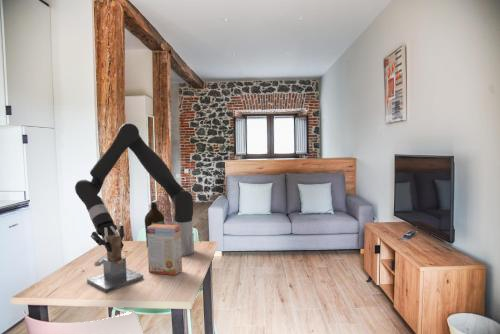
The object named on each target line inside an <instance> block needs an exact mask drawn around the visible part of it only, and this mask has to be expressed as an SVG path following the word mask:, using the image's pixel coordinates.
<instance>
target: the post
mask: <svg viewBox="0 0 500 334" xmlns="http://www.w3.org/2000/svg"><path fill="white" fill-rule="evenodd" d="M107 239H108V242H109V243H110V245H111V247H112V252H110V253H109V252H108V251H107V250H106V253H107V260H110V261H114V260H118V259H121V256H122V249H121V241H122V240H121V238H120V235H119V234H118V235H117V234H113V235H109V236H107Z"/></svg>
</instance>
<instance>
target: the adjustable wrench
mask: <svg viewBox="0 0 500 334" xmlns="http://www.w3.org/2000/svg"><path fill="white" fill-rule="evenodd" d="M105 258H107V252H106V253H105V254H104V255H102V256H101V257H100V258H98V260H96V261H95V262H94V266H100V265H101V264H102V263H103V259H105Z"/></svg>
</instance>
